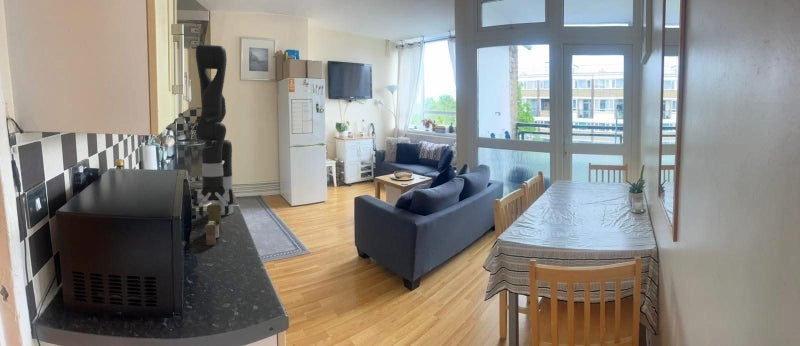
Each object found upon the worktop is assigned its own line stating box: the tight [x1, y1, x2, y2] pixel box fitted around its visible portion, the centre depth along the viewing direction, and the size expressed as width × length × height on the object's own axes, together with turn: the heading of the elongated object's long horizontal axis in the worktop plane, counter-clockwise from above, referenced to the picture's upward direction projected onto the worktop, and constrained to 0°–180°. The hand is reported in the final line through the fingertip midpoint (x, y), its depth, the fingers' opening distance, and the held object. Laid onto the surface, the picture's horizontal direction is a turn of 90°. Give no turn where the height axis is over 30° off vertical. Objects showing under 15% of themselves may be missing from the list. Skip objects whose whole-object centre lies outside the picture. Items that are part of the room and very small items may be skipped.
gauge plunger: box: [206, 221, 221, 238], centre depth 172 cm, size 5×4×6 cm
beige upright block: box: [205, 221, 217, 246], centre depth 165 cm, size 6×3×8 cm, turn 17°
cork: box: [206, 203, 224, 234], centre depth 179 cm, size 6×6×11 cm
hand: (214, 215), depth 178 cm, fingers open, 8 cm apart
